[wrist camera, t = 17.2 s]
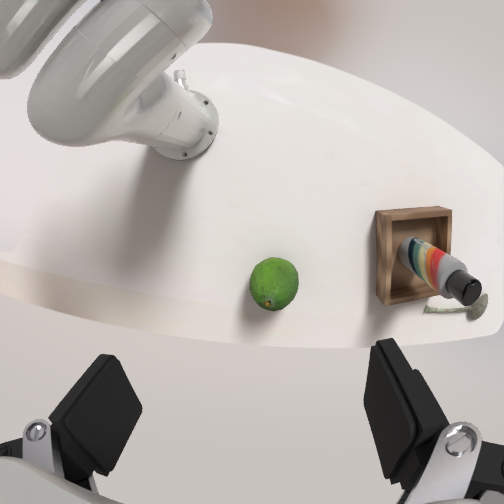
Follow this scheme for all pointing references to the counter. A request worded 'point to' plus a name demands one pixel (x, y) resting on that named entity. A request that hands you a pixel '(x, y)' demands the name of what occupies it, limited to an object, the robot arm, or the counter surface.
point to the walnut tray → (389, 240)
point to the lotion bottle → (439, 270)
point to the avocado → (274, 283)
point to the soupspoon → (467, 308)
